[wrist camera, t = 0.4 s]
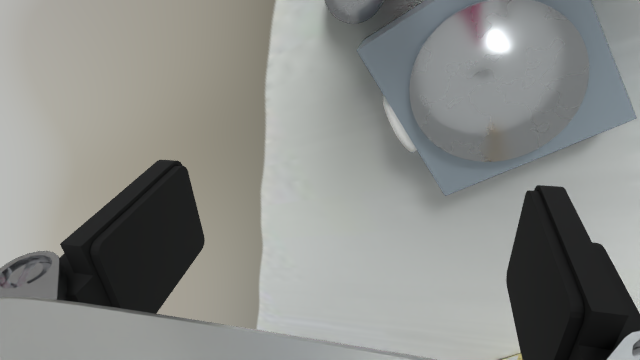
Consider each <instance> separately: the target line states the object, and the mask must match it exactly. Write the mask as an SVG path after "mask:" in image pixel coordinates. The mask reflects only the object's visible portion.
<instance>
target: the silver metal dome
mask: <svg viewBox="0 0 640 360" xmlns="http://www.w3.org/2000/svg"><path fill="white" fill-rule="evenodd" d="M383 2H384V0H325V3H326V6H327V7H328V9H329V11H330V12H331V13H332V14H333V15H334V16H335V17H336V18H337V19H339V20H341V21H343V22H346V23H354V24H355V23H361V22H364V21H366V20H368V19H370V18H371V17H372V16H373V15H374V14H375V13H376V12H377V11H378V9H379V8H380V6H381V5H382V3H383Z"/></svg>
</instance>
